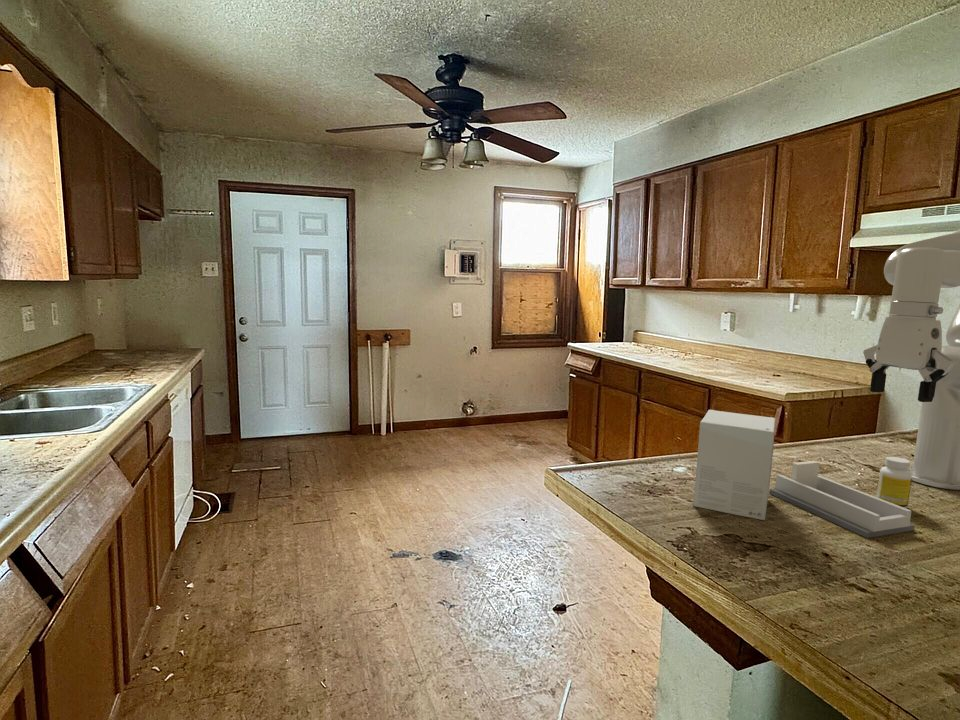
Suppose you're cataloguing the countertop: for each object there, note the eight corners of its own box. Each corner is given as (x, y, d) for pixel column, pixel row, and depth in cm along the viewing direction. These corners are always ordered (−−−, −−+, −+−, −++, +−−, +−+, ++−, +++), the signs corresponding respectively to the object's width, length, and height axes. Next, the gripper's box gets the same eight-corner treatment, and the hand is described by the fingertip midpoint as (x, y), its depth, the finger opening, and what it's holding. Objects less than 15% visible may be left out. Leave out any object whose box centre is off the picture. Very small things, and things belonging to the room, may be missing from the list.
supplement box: (768, 499, 120) (777, 417, 118) (765, 521, 109) (775, 431, 106) (700, 486, 126) (707, 408, 124) (691, 506, 115) (699, 421, 112)
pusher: (811, 487, 124) (814, 460, 123) (816, 489, 123) (819, 462, 122) (789, 490, 122) (792, 462, 121) (794, 492, 121) (797, 464, 120)
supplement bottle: (913, 512, 115) (919, 464, 114) (882, 509, 117) (889, 462, 115) (899, 501, 121) (905, 456, 119) (870, 499, 122) (876, 454, 120)
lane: (811, 488, 127) (813, 470, 127) (914, 530, 107) (917, 509, 106) (769, 493, 123) (771, 475, 123) (867, 538, 103) (870, 516, 102)
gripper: (974, 315, 107) (959, 405, 109) (884, 309, 123) (872, 388, 125) (946, 313, 105) (931, 406, 107) (858, 308, 121) (847, 388, 123)
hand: (900, 396), depth 116 cm, fingers open, 9 cm apart
